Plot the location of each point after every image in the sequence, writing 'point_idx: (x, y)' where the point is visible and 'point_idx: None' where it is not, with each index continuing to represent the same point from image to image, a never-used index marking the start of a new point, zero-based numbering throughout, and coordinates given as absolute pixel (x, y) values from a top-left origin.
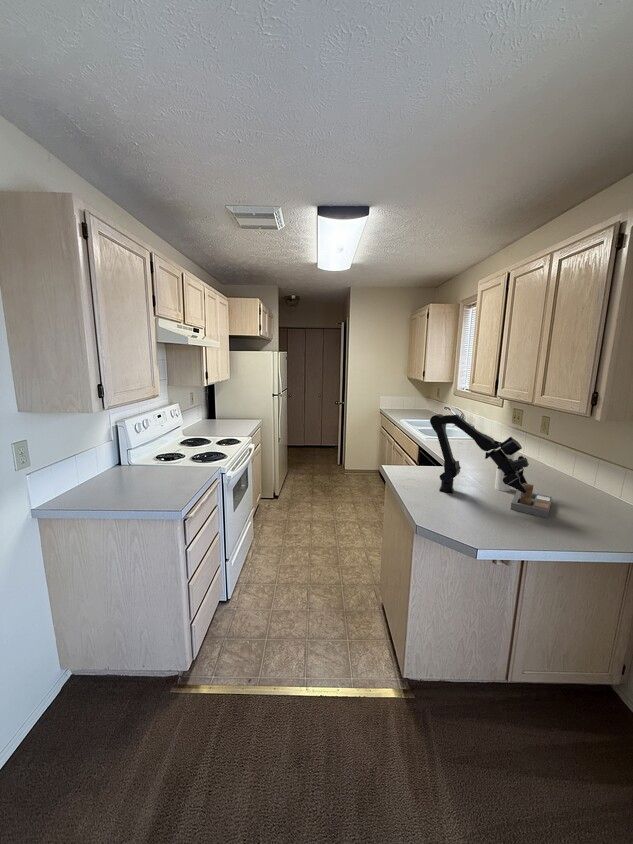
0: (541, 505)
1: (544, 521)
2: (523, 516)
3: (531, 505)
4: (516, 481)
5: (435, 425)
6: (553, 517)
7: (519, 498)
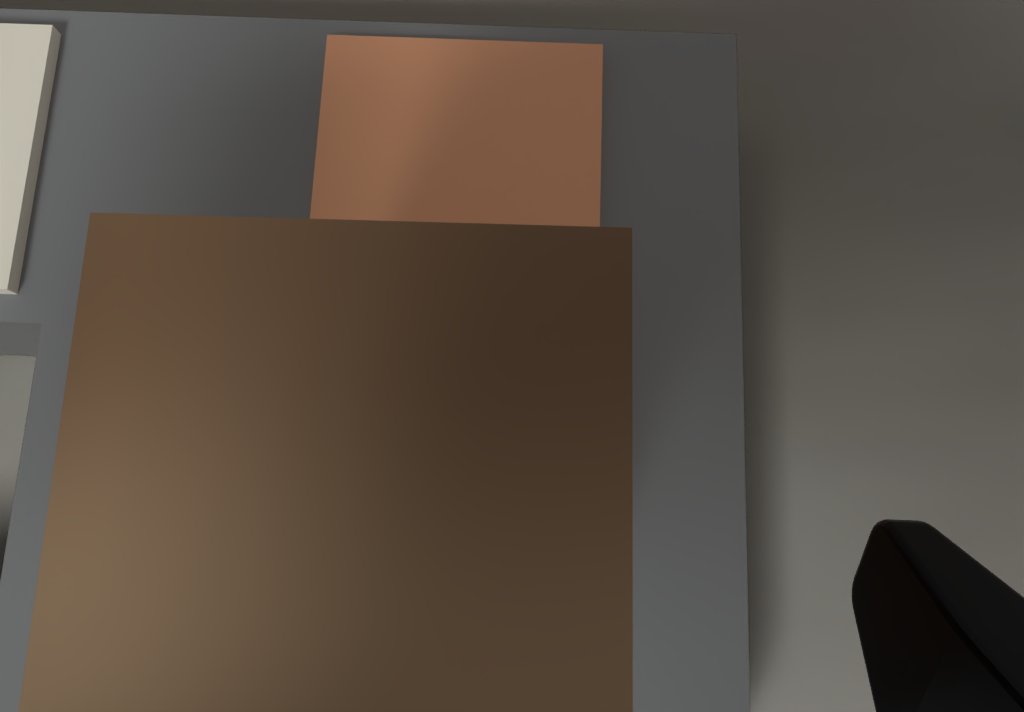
0: (493, 166)
1: (914, 157)
2: (944, 507)
3: None
4: None
5: None
6: None
7: None
